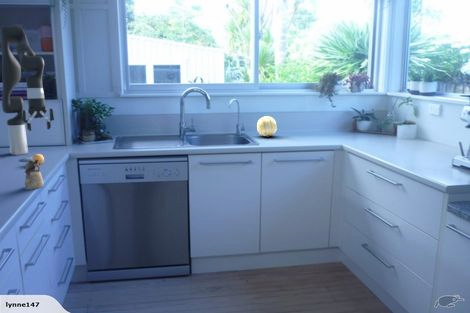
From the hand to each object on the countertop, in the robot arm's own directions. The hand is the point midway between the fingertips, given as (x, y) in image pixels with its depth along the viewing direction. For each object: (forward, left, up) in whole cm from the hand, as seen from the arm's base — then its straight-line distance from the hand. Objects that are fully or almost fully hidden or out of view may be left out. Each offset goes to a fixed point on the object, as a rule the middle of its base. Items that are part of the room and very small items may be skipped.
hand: (39, 130), depth 212 cm
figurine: (+32, -23, -19) cm, 44 cm away
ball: (-8, +2, -16) cm, 18 cm away
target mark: (-23, +7, -19) cm, 31 cm away
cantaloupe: (+45, +147, -19) cm, 155 cm away
